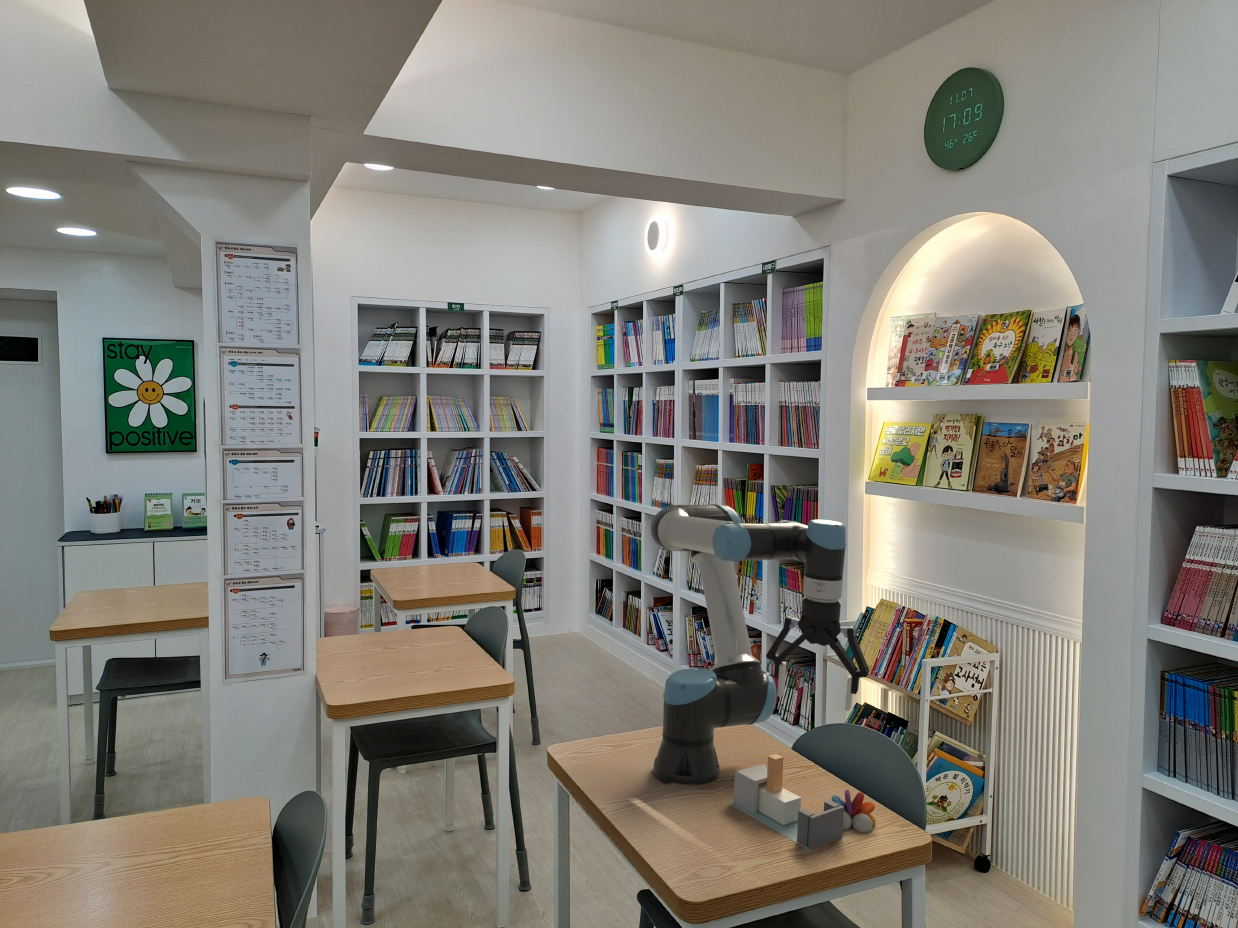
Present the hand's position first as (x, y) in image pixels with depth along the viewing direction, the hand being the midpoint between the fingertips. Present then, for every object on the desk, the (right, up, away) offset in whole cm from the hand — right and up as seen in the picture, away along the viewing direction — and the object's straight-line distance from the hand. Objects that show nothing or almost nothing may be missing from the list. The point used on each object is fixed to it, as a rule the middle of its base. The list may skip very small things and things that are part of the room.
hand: (813, 701), depth 167 cm
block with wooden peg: (-8, -24, +3) cm, 25 cm away
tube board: (-6, -25, 0) cm, 25 cm away
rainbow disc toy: (+7, -26, +1) cm, 27 cm away
